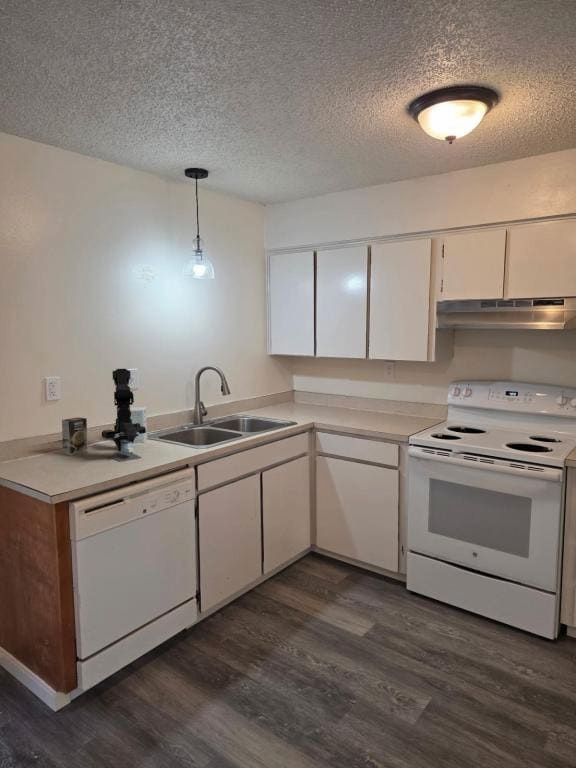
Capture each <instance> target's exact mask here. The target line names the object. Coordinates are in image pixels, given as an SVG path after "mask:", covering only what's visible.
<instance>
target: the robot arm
mask: <svg viewBox="0 0 576 768" xmlns="http://www.w3.org/2000/svg"><path fill="white" fill-rule="evenodd" d="M131 378H132V377H131V370H129V369H128V368H117V369H114V370H113V371H112V381H113V382H114V383H113V384H114V386H115V391H113V399H114V403H113V404H114V406H116V418H115V425H113V429H105V430H102V432H101V437H102V438H104V439H112V440H113V442H114V444H115V445H116V447H114V450H116V451H117V448H118V451H121V446H120V440H127V441H130V442H132V445H133V443H134V442H133V441H134V439H135V438H136V437H137V436H139V435H138V434H137V432H138V433H140V434H143V433H146V428H145V427H143V426H140V424H139V423H135V424H133V423H132V419H130V417H131V411H130V408H131V406H133V404H134V403H135V399H134V393H133V391H132V390H131V387H130V386H129V385H130V380H132V379H131Z"/></svg>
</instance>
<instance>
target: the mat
mask: <svg viewBox="0 0 576 768" xmlns="http://www.w3.org/2000/svg"><path fill="white" fill-rule="evenodd" d="M108 458H111V459H113V460H116V461H117V462H119V463H120V462H126V461H132V460H139V459H142V456H140V455H138V454H135V453H133V452H132V454H131V455H122V454H120V453H116V454H110V455H108Z"/></svg>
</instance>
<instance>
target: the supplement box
mask: <svg viewBox="0 0 576 768" xmlns="http://www.w3.org/2000/svg"><path fill="white" fill-rule="evenodd" d="M130 411H131V417H130V419H132V423H133V424H135V423H139V424H140V426H143V427H145V428H146V433H143V434H140V433H138V432H137V434H138V435H139V436H137V437H136V438H135V439H134V441H133V443H145V442H146V441H147V439H148V424H147V418H148V417H147V407H146V406H144V407H137V406H136V407H130Z"/></svg>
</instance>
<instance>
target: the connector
mask: <svg viewBox="0 0 576 768" xmlns="http://www.w3.org/2000/svg"><path fill="white" fill-rule="evenodd" d="M120 446H121V451H118V448H117V447H116V448H117V450H116V451H117V454H122V455H131V454H132V453H133V452H135V448H134V447H133V444H132V442H130V441H127V440H120Z"/></svg>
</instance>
